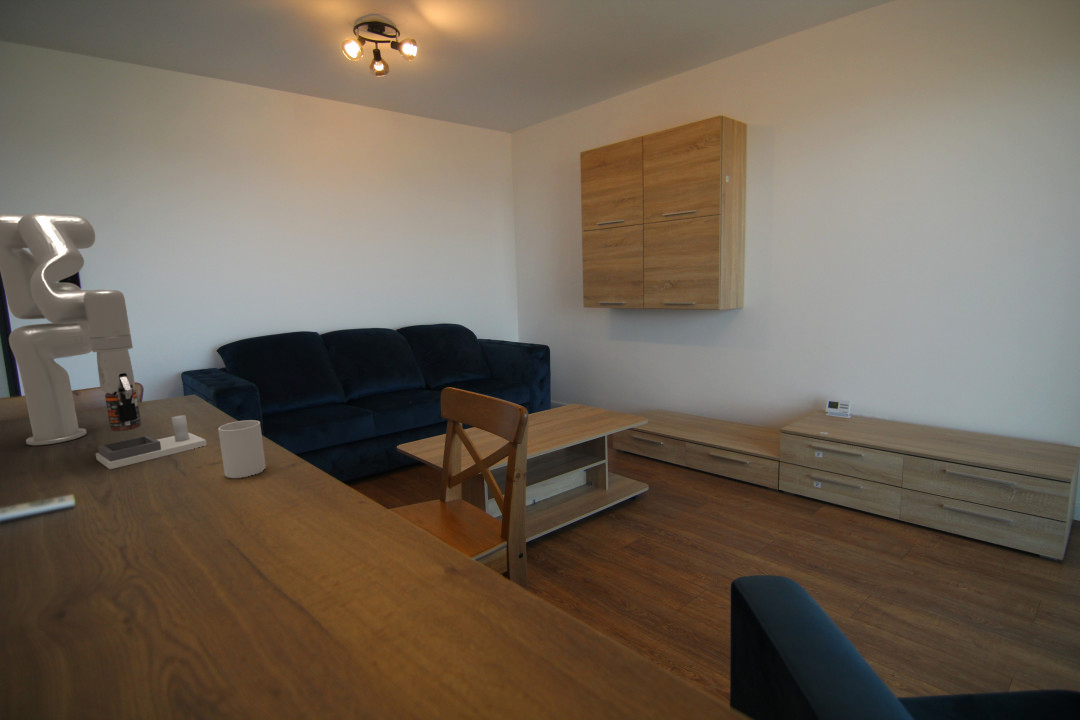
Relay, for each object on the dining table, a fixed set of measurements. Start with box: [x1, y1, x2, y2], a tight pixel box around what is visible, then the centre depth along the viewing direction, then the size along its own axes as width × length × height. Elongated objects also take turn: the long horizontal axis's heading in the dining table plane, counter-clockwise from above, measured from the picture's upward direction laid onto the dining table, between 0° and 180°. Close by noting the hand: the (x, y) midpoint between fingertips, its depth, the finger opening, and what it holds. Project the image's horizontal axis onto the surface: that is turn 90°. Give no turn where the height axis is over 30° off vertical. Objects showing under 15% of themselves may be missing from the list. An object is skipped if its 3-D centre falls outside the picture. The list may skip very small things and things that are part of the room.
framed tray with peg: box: [95, 414, 207, 470], centre depth 135 cm, size 12×20×8 cm, turn 140°
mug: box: [217, 419, 266, 479], centre depth 119 cm, size 12×8×10 cm, turn 48°
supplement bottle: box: [104, 383, 142, 432], centre depth 130 cm, size 6×6×11 cm
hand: (124, 418), depth 130 cm, fingers closed on supplement bottle, 5 cm apart
